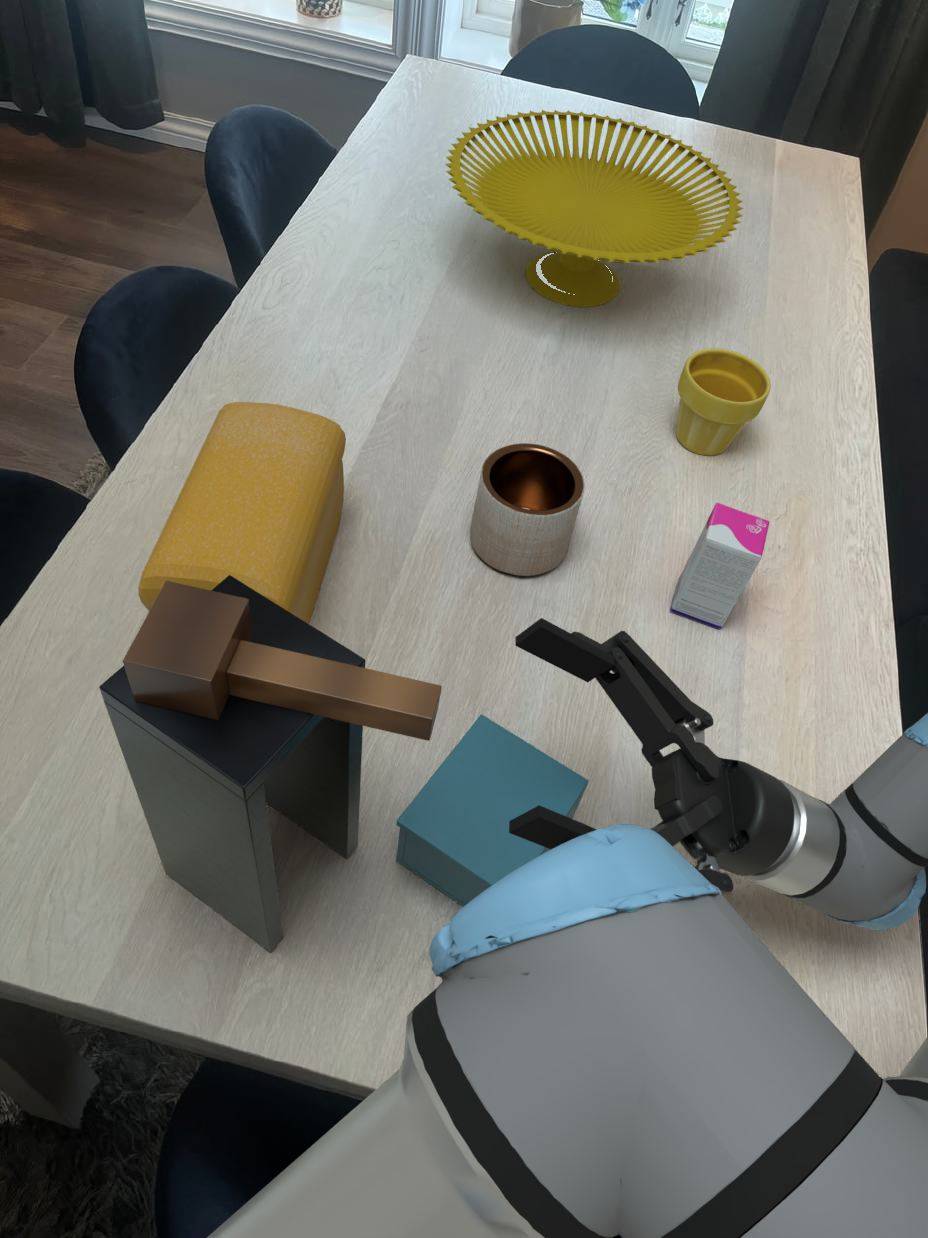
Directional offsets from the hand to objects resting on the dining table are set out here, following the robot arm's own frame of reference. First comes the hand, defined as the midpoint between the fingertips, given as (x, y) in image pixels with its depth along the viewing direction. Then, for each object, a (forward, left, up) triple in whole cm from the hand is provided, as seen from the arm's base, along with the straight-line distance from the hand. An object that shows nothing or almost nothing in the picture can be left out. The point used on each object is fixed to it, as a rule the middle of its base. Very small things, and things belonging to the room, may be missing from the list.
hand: (525, 718), depth 57 cm
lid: (+3, +1, -18) cm, 18 cm away
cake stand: (+85, +38, -26) cm, 97 cm away
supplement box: (+40, -3, -26) cm, 48 cm away
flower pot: (+65, +8, -26) cm, 70 cm away
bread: (+13, +35, -26) cm, 45 cm away
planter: (+35, +17, -26) cm, 47 cm away
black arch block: (-9, +15, -25) cm, 31 cm away
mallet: (-8, +12, +2) cm, 14 cm away
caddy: (+3, +1, -25) cm, 26 cm away
